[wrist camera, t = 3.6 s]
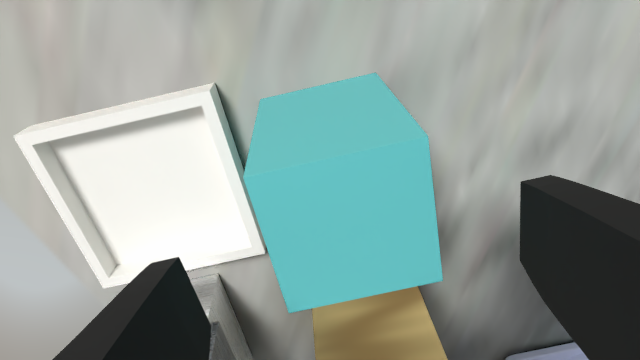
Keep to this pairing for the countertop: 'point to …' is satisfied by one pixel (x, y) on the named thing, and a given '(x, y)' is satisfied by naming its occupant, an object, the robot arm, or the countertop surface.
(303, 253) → the teal block
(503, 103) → the countertop surface
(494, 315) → the countertop surface
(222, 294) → the block
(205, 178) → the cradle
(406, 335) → the ochre block
